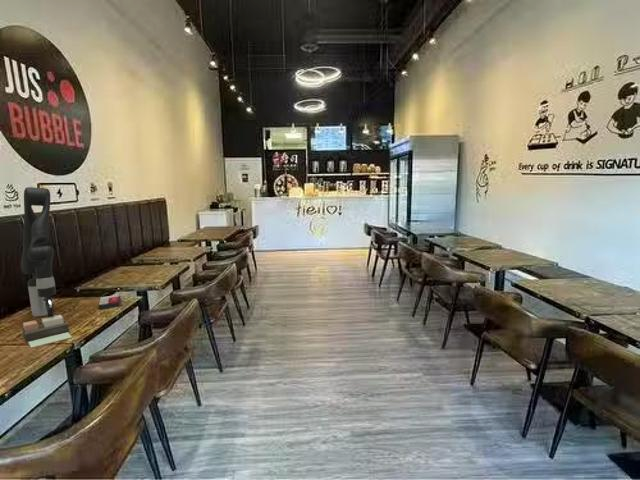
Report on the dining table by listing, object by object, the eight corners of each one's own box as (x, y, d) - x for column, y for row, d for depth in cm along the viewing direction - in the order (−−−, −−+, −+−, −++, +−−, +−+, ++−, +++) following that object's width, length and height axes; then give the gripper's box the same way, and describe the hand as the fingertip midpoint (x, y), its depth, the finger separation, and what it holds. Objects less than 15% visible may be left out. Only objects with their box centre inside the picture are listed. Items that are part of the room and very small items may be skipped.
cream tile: (42, 324, 199) (41, 318, 199) (61, 320, 205) (60, 314, 204) (44, 327, 195) (43, 321, 194) (63, 323, 200) (62, 317, 200)
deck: (23, 336, 196) (22, 328, 195) (63, 326, 207) (62, 318, 207) (26, 342, 187) (25, 334, 187) (69, 332, 198) (67, 324, 198)
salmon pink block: (23, 328, 194) (22, 322, 194) (36, 326, 198) (35, 320, 197) (25, 332, 190) (24, 326, 189) (38, 329, 193) (37, 323, 193)
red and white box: (97, 304, 232) (99, 296, 245) (98, 311, 233) (100, 303, 246) (119, 301, 236) (119, 293, 250) (120, 308, 237) (120, 300, 251)
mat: (28, 342, 187) (28, 341, 187) (68, 332, 198) (67, 332, 198) (31, 348, 181) (31, 347, 181) (72, 337, 191) (72, 336, 191)
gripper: (57, 286, 198) (62, 320, 201) (52, 282, 208) (57, 314, 210) (39, 290, 193) (44, 324, 196) (34, 285, 203) (40, 318, 205)
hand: (51, 319), depth 203 cm, fingers closed
